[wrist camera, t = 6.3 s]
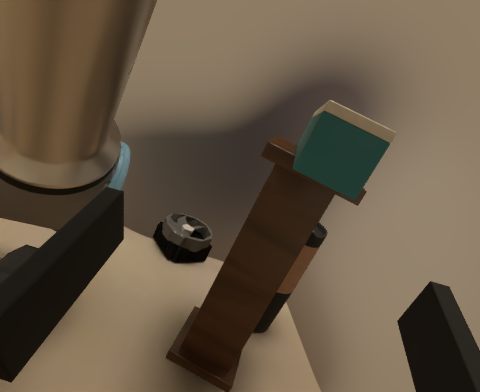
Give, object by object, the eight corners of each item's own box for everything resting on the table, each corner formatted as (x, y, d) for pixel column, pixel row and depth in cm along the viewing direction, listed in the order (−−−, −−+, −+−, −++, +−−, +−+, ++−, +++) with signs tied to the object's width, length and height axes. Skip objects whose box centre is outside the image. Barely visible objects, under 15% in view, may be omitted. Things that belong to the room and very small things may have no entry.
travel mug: (237, 294, 59) (287, 203, 53) (272, 316, 58) (328, 226, 52) (224, 316, 51) (281, 214, 46) (265, 342, 50) (328, 240, 45)
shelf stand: (227, 412, 37) (366, 191, 28) (153, 370, 37) (267, 141, 29) (246, 339, 49) (346, 170, 40) (190, 308, 50) (278, 135, 41)
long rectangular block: (354, 201, 20) (397, 132, 18) (292, 169, 20) (329, 99, 19) (327, 160, 41) (346, 127, 39) (297, 145, 41) (314, 111, 40)
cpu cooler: (198, 213, 69) (222, 240, 63) (188, 234, 71) (211, 263, 64) (157, 209, 62) (179, 240, 56) (147, 233, 64) (167, 265, 57)
